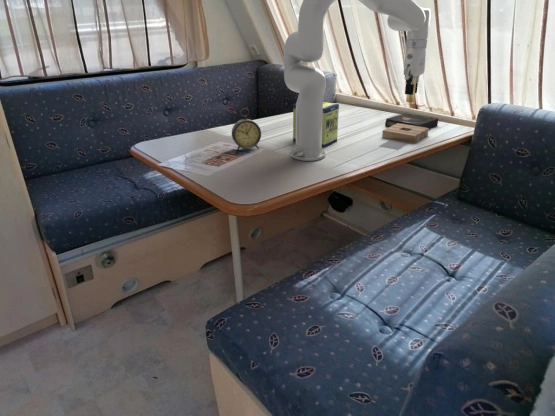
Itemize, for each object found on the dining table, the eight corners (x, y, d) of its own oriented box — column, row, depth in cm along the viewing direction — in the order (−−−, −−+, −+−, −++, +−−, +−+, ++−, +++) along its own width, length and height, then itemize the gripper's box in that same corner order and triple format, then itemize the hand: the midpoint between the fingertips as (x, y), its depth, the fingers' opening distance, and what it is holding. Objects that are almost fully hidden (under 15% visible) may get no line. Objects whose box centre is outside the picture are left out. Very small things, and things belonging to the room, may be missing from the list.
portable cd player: (384, 127, 188) (385, 119, 186) (405, 120, 198) (406, 112, 196) (416, 134, 176) (417, 125, 175) (437, 127, 187) (438, 118, 185)
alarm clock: (234, 153, 158) (231, 110, 150) (232, 148, 162) (229, 107, 155) (262, 150, 160) (260, 108, 153) (258, 146, 165) (257, 105, 158)
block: (414, 144, 163) (415, 135, 161) (381, 138, 171) (382, 130, 169) (427, 136, 172) (428, 128, 171) (396, 131, 180) (397, 123, 179)
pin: (412, 102, 163) (415, 71, 158) (404, 101, 165) (408, 70, 160) (415, 101, 165) (418, 70, 160) (407, 100, 167) (411, 69, 162)
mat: (397, 150, 156) (397, 149, 156) (378, 146, 161) (378, 146, 161) (408, 144, 163) (408, 143, 163) (389, 140, 168) (389, 140, 168)
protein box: (324, 148, 161) (326, 108, 154) (292, 141, 169) (292, 104, 162) (338, 141, 168) (339, 103, 161) (306, 136, 176) (306, 99, 170)
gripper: (417, 46, 148) (411, 98, 156) (434, 42, 159) (427, 91, 167) (397, 46, 152) (393, 96, 160) (415, 42, 163) (410, 89, 171)
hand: (410, 93), depth 164 cm, fingers closed on pin, 3 cm apart
